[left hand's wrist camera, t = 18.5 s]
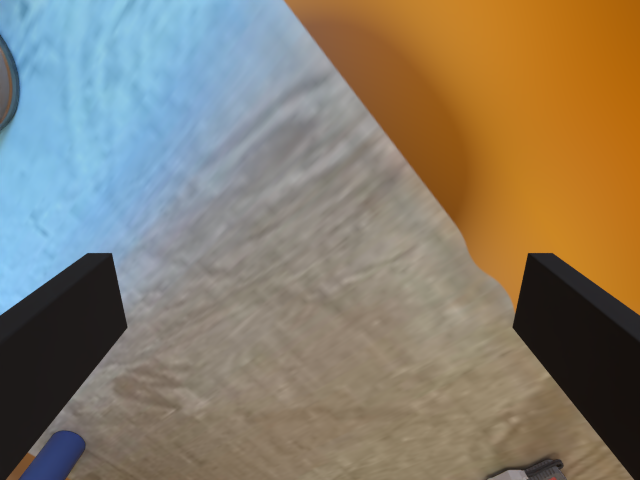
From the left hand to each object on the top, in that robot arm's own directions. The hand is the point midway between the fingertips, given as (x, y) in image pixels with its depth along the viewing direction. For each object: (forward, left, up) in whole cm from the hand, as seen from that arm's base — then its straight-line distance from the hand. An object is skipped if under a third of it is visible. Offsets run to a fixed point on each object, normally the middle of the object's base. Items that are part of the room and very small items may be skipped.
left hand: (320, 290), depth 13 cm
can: (+32, -55, -37) cm, 74 cm away
